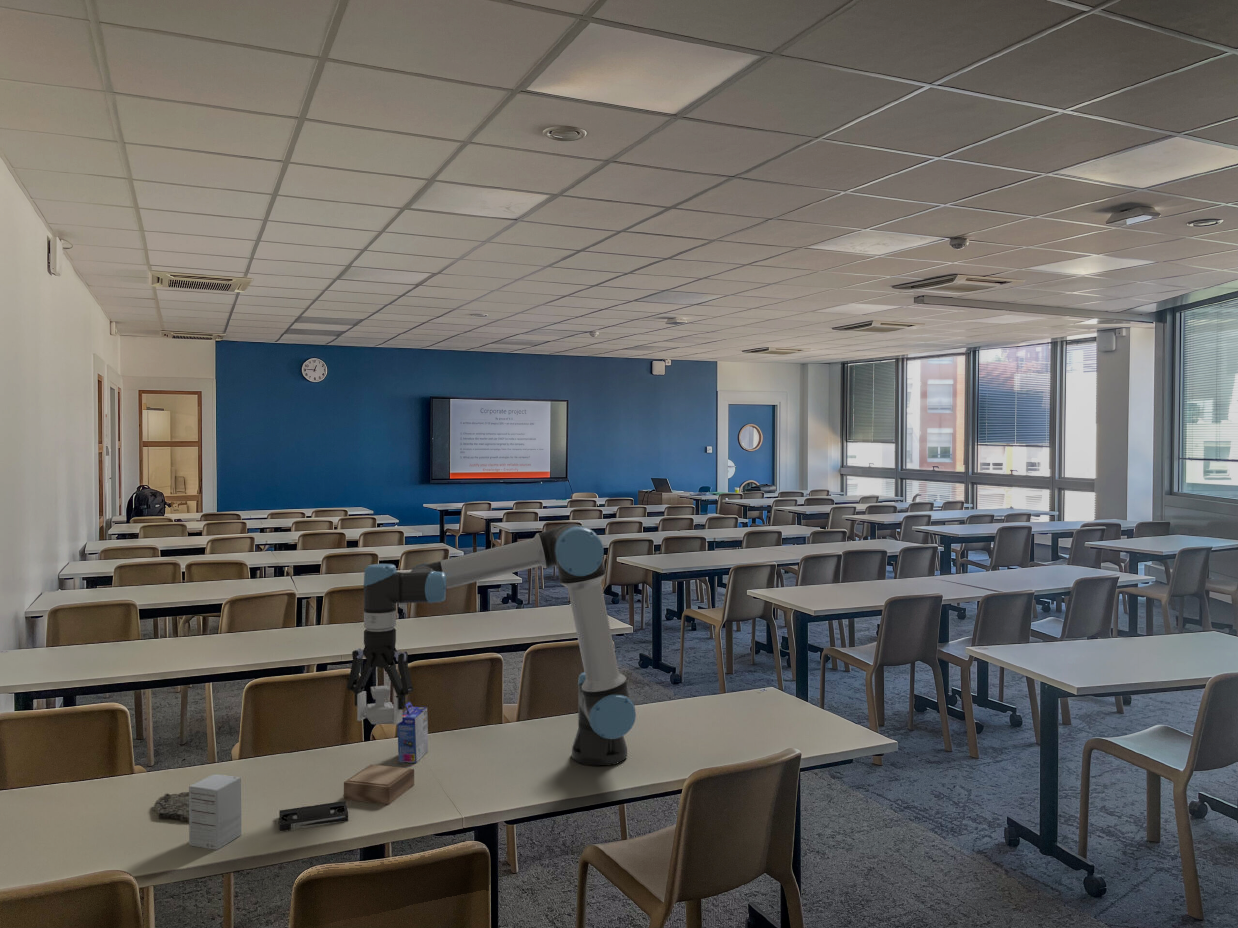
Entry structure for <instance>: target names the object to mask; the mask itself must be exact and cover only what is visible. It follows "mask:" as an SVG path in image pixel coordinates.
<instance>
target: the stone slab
mask: <svg viewBox="0 0 1238 928" xmlns="http://www.w3.org/2000/svg"><path fill="white" fill-rule="evenodd" d="M152 811H153V812H156V811H157V812H156V813H157V815H158V819H160V820H161V819H163V820H170V819H171V820H172V819H173V820H174V819H176V820H178V821H180V822H182V823H188V824H189V791H185V792H184V791H183V792H179V793H173V794H170V793H167V792H166V793H164V795H162V796H160V797H158V798H157V800H156V801H155V803H154V804H153V808H152Z"/></svg>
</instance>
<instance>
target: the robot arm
mask: <svg viewBox="0 0 1238 928" xmlns="http://www.w3.org/2000/svg"><path fill="white" fill-rule="evenodd" d="M604 551H605V550H604V545H603V543H602V540H601V539H600V537H599V535H598V534H597V533H596V532H595V531H594V530H593V529H591V528H590V527H589V528H588V527H586V526H584V525H581V524H578V523H567V524H563V525H560V526H557V527H555V528H551V529H548V530H544V531H542V532H537V533H536V534H535V535H534V537H533V538H529V539H526V540H525V539H524V540H521V541H516V542H513V543H509V544H505V545H501V546H497V547H492V548H487V549H484V550H481V551H480V550H479V551H476V552H472V553H468V554H463V555H459V556H455V557H450V558H447V559H442V560H440V561H435V562H431V563H421V564H417V565H416V566H415V567H413V568H412V569H411V571H410V572H409V571H408V572H406V571H405V572H400V571H399V572H398V571H397V568H396V567H397V566H396V565H395V564H393V563H376V564H374V563H373V564H370V565H367V566H366V568H364V573H363V575H364V576H363V628H364V631H363V645H364V647H363V649H362V648H357V649H354V650H352V652H351V654H352V655H351V656H352V657H351V658H352V663H351V667H350V672H349V676H348V682H347V686H346V689H347V690H348V691H351V692H353V693H354V706H356V710H357V717H356V718H357V719H356V720H357V722H361V721H363V720H364V719H366V718H363V717H361V713H362V712H363V711H365V707H366V705H367V691H365V686H366V684H367V682H368V681H369V678H370V676H371V674H372V672H373V671H374V668H381V669H383V670H384V672H386V674H387V676H388V679H389V681H390V683H391V685H392V687H393V689H394V692H395V693H396V694H395V696H394V697H393V707H394V717H393V725H397V724H398V723H400V722H402V714H403V710H404V709H406V707H405V705H406V696H408V695H409V694H411V693H413V691H414V687H413V682H412V677H411V673H410V668H409V665H408V657H409V656H408V655H409V654H408V652H407V651H403V652H401V651H397V648H396V643H397V629H396V628H395V627H396V626H397V608H396V605H397V604H422V603H423V604H424V603H425V604H426V603H427V604H428V603H429V604H434V603H442V602H444V601H445V600H446V599H447V598H446V597H447V596H446V595H447V594H446V593H447V591H446V590H448V589H451V588H456V587H460V586H463V585H467V584H472V583H475V582H480V581H483V580H488V579H491V578H497V577H499V576H503V575H510V574H513V573H516V572H520V571H525V570H529V569H532V568H537V567H542V568H544V569H549V568H551V567H552V568H553V567H557V573H558V577H559V582H560V583H559V584H561V585H562V586H564V587H565V588H566V589H567V591H568V597H569V601H570V606H571V610H572V611H571V612H572V616H573V621H574V626H575V630H576V631H575V632H576V637H577V641H578V645H579V651H580V656H581V661H582V667H583V672H581V673H580V674H579V675H578V681H577V682H578V683H577V687H578V694H577V695H578V698H577V699H578V705H577V706H578V707H577V708H578V709H577V710H578V715H577V716H578V718H577V719H578V723H577V726H578V728H577V731H576V734H575V737H574V740H573V744H572V746H571V757H572V760H573V761H574V762H577V763H578V762H579V764H581V763H582V765H585V764H587V766H592V765H598V766H597V767H600V766H599V765H607V766H609V765H608V764H613V765H615V764H614V763H617V762H620V761H622V760H624V759H625V758H626V757H627V758H628V746H627V742H626V740H625V735H626V734H628V733H629V732H630V730H631V729H632V728H633V727H634V725H635V722H636V719H637V714H636V712H637V711H636V707H635V705H634V702H633V701H632V700H631V696H630V692H629V687H628V686H629V685H628V682H627V678H626V676H625V675H624V674H622V673H621V672H620V671H619V666H618V661H617V657H616V656H617V655H616V652H615V646H614V641H613V638H612V637H613V636H612V632H611V626H610V621H609V616H608V612H607V606H606V601H605V596H604V591H603V587H602V586H603V584H602V580H603V578H604V577H605V576H606V571H605V564H604V561H603V560H604V554H605V553H604ZM363 658H365V659H366V662H365V663H364V666H363V669H362V668H361V667H362V665H363V664H362V663H363ZM395 658H396V659H395ZM394 659H395V660H396V661H397V665H396V662H395V660H394ZM397 666H398V669H397ZM361 669H362V672H361ZM364 715H366V713H365V714H364ZM627 758H626V759H627ZM626 759H625V760H626ZM625 760H624V761H625ZM622 762H623V761H622ZM620 763H621V762H620ZM617 764H618V763H617Z"/></svg>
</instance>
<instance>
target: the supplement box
mask: <svg viewBox="0 0 1238 928" xmlns="http://www.w3.org/2000/svg"><path fill="white" fill-rule="evenodd" d="M188 792H189V823H188V828H189V829H188V831H189V833H188V835H189V836H188V838H189V840H188V841H189V842H188V843H189V845H190V846H192V847H197V848H204V849H209V850H215V851H216V850H217V851H218V850H219V849H221V848H223V847H224V846H226V845H227V844H229V843H231V842H232V841H235V839H237V838H239V837H240V836H242V777H239V776H231V775H224V774H218V773H217V774H216V773H215V774H214V773H213V774H210V775H209V776H207V777H205V778H204V779H202V780H201V779H200V780H199V781H196V782H195V783H193V784H191V785H189V786H188Z"/></svg>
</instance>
